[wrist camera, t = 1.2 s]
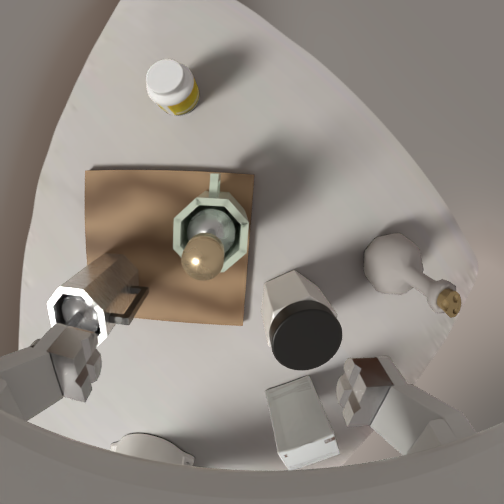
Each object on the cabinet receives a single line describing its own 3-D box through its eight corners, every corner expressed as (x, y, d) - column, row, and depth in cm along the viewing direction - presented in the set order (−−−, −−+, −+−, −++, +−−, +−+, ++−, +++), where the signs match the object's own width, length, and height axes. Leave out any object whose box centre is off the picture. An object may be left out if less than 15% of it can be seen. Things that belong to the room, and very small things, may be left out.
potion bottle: (356, 287, 44) (416, 350, 27) (359, 229, 42) (431, 268, 24) (403, 282, 44) (473, 334, 27) (408, 227, 42) (489, 261, 25)
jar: (271, 332, 45) (283, 382, 33) (249, 288, 43) (256, 330, 31) (326, 308, 44) (353, 351, 33) (307, 261, 42) (334, 295, 31)
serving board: (242, 321, 44) (242, 325, 43) (95, 309, 42) (92, 312, 41) (253, 174, 39) (254, 174, 37) (89, 170, 37) (85, 170, 36)
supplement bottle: (206, 84, 35) (198, 59, 26) (191, 121, 36) (178, 105, 27) (168, 74, 34) (151, 49, 25) (153, 110, 35) (131, 94, 26)
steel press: (155, 305, 41) (129, 356, 29) (95, 299, 40) (55, 343, 28) (153, 256, 39) (122, 293, 27) (91, 252, 39) (44, 284, 26)
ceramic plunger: (233, 255, 32) (234, 294, 22) (187, 253, 31) (169, 290, 22) (236, 209, 30) (238, 228, 21) (189, 207, 30) (169, 224, 20)
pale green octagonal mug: (241, 248, 40) (245, 273, 30) (186, 245, 39) (172, 269, 30) (247, 175, 37) (252, 176, 28) (190, 171, 37) (175, 172, 27)
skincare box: (274, 409, 49) (286, 473, 35) (263, 388, 48) (274, 454, 33) (318, 395, 49) (341, 456, 35) (311, 372, 48) (335, 435, 33)
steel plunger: (104, 333, 30) (63, 396, 19) (68, 328, 30) (21, 383, 19) (99, 294, 29) (48, 349, 18) (62, 289, 28) (6, 338, 18)
